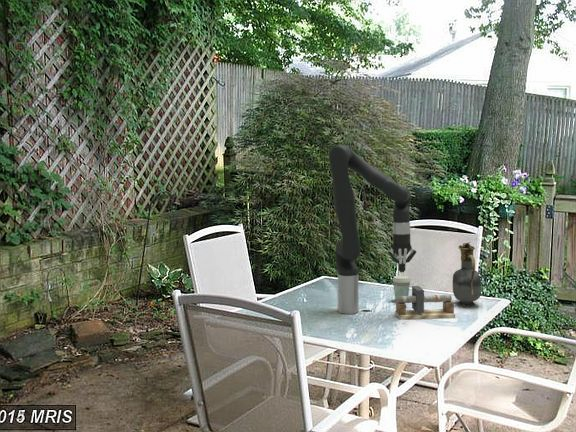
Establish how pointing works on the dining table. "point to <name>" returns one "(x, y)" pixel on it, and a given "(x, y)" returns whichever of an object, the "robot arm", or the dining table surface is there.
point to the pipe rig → (428, 313)
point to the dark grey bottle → (467, 278)
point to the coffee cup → (401, 286)
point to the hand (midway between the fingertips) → (401, 271)
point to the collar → (418, 299)
